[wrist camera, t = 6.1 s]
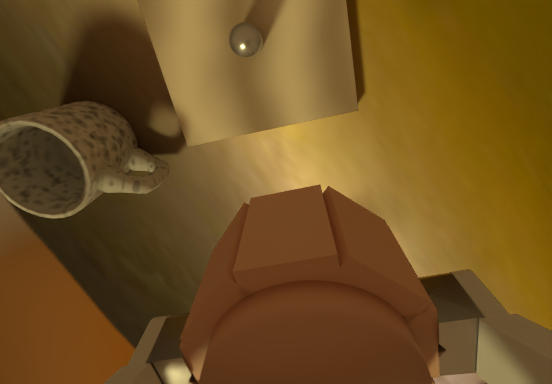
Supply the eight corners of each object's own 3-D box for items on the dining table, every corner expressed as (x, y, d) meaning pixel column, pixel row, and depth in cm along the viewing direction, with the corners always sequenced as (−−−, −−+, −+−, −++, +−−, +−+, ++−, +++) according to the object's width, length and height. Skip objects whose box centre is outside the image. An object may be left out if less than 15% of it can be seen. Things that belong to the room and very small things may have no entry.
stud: (260, 23, 20) (255, 18, 18) (266, 52, 21) (263, 53, 18) (233, 29, 20) (225, 26, 18) (240, 58, 21) (233, 60, 18)
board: (332, -93, 19) (335, -102, 18) (355, 107, 23) (358, 110, 22) (132, -35, 20) (123, -40, 19) (192, 142, 25) (187, 146, 24)
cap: (383, 172, 9) (458, 266, 5) (397, 318, 12) (456, 463, 8) (194, 209, 10) (130, 318, 6) (243, 340, 12) (222, 482, 8)
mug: (56, 168, 26) (-12, 203, 20) (55, 89, 24) (-25, 103, 18) (173, 198, 27) (140, 241, 21) (184, 125, 24) (150, 150, 18)
